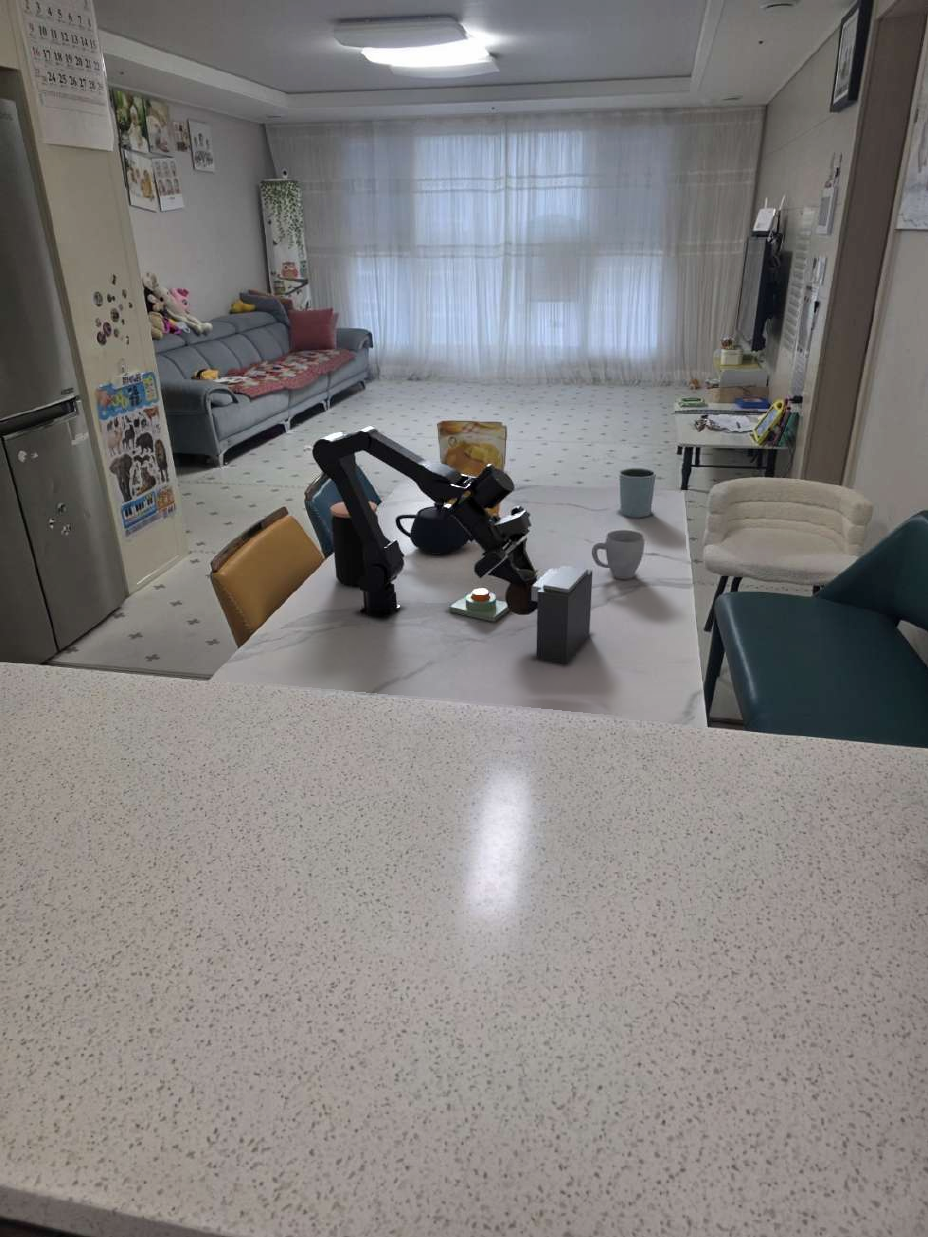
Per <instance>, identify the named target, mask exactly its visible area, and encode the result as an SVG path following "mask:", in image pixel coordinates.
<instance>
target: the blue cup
mask: <svg viewBox="0 0 928 1237" xmlns="http://www.w3.org/2000/svg"><path fill="white" fill-rule="evenodd" d="M618 476H619V496H620V497H619V500H620V502H619V503H620V514H621V515H622V516H625V517H628V518H636V519H638V518H640V519H641V518H646V517H647V518H648V517H649V516H650V515H651V514H652V508H653V506H652V504H653V500H654V491H655V488H654V487H655V483H656V478H657V477H656V476H657V473H656V471H655V470H652V469H649V468H642V467H634V468H633V467H632V468H631V467H630V468H625V469H622V470H620V471H619V474H618Z"/></svg>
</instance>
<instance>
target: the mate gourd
mask: <svg viewBox="0 0 928 1237" xmlns="http://www.w3.org/2000/svg"><path fill="white" fill-rule="evenodd" d="M518 571H519V572H520V574H521V575H522V576H523V578H524V579H525V581H526V582H527V584H528V586H527V587H526V588H521V587H519V586H517V585H514V584H512V583H510V582H508V583H509V584H508V585H507V588H506V590H505V594H504V602H506V603H507V607H508V608H509V611H510V612H512V613H513V614H515V615H519V616H527V615H530V614H533V613H534V612H535V611H536V610H537V604H538V601H532V585H533V584H534V583H536V582H537V581H538V574H537V572H538V571H539V570H538V569H537V570H535V572H533V571H531V570H524V569H521V570H519V569H518Z"/></svg>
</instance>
